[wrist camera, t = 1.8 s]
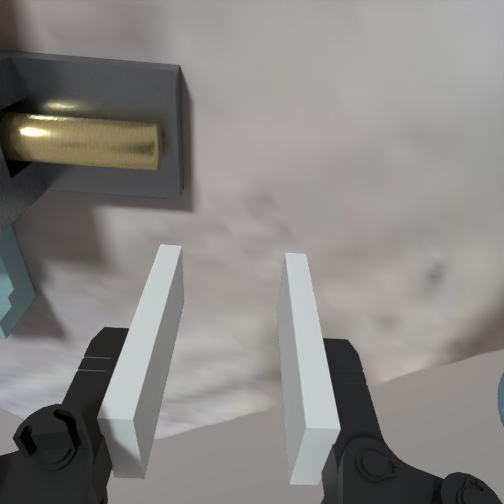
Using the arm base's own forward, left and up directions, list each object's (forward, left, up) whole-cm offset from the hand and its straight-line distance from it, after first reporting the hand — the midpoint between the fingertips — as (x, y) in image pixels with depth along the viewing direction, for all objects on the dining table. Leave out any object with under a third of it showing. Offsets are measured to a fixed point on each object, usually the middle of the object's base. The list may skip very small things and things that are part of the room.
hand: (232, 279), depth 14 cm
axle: (+14, 0, -15) cm, 21 cm away
